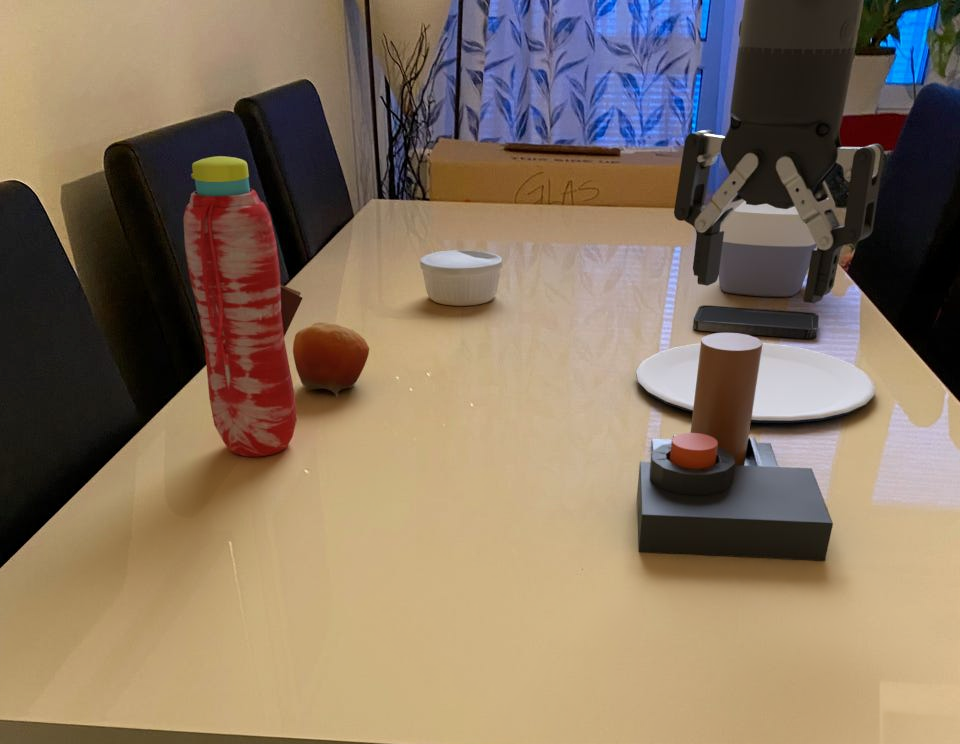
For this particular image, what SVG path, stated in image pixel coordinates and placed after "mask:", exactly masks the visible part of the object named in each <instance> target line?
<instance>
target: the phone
mask: <svg viewBox="0 0 960 744" xmlns="http://www.w3.org/2000/svg"><path fill="white" fill-rule="evenodd" d="M819 318H820V315H819V314H818V313H817V312H810V311H809V312H808V311H798V310H797V311H796V310H781V309H765V308H754V307H753V308H752V307H739V306H738V307H737V306H724V305H711V304H705V305H703V304H702V305H699V306H698V308H697V310H696V312H695V315H694V317H693V322H692V329H693V330H695V331H701V332H712V333H713V332H715V333H739V334H745V335H751V336H754V335H755V336H765V337H766V336H768V337H780V338H792V339H803V340H804V339H806V340H810V339H815V338H817V335H818V330H819V320H820V319H819Z"/></svg>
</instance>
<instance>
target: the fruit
mask: <svg viewBox="0 0 960 744" xmlns="http://www.w3.org/2000/svg"><path fill="white" fill-rule="evenodd" d="M292 354H293V360H294V365H295V369H296V372H297V375H298V378H299V379H300V380H299V381H300V382H301V384H302V386H303V387H304V390H305V393H307V392H309V391H312V390H317V389H321V390H322V389H324V390H327V391H330V392H332V393H334V394H335V398H336V399H339V392H340V391H341V390H343V389H344V390H345V389H347V388H353V386H354V385H355V384H356V383H357V381H358V380H359V378H360V376H361V375H362V371H363V370H364V368H365V366H366V363H367V361H368V357H369V354H370V347H369V345H368V343H367V341H366V339H365V338H364V337H363V336H362V335H361V334H359V333H358V332H357V331H355V330H354V329H352V328H348V327H345V326H342V325H339V324H335V323H328V322H315V323H313V324H311V325H310V326H307V327H305V328H302V329H300V330H298V331H297V332H296V333H295V335H294V340H293V346H292Z"/></svg>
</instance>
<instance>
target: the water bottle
mask: <svg viewBox="0 0 960 744" xmlns="http://www.w3.org/2000/svg"><path fill="white" fill-rule="evenodd" d="M191 169H192V173H191V174H190V176H191V179H193V180H194V183H195V189H196V190H195V191H193V192H192V193H191V194H190V199H189V202H188V204H187V205H186V206H185V210H184V214H183V235H184V249H185V254H186V261H187V268H188V274H189V281H190V284H191V289H192V292H193V296H194V299H195V304H196V308H197V312H198V315H199V321H200V327H201V333H202V339H203V344H204V352H205V364H206V377H207V387H208V396H209V397H208V398H209V404H210V409H211V414H212V420H213V425H214V427H215V429H216V431H217V433H218V435H219V436H220V438H221V440H222V442H223V443H224V445H225V446H226V448H227V449H228V450H229V451H230V452H231V453H232V454H236V455H238V456H243V457H251V458H254V457H255V458H259V457H260V458H261V457H265V456H272V455H275V454H277V453H279V452H281V451H283V450H285V449H287V448H288V446H289V444H290V443H291V440H292V439H293V436H294V434H295V433H294V432H295V428H296V424H297V420H298V417H297V407H296V395H295V389H294V384H293V378H292V374H291V373H292V372H291V368H290V361H289V357H288V352H287V347H286V341H285V336H286V335H287V332H288V330H289V328H290V326H291V324H292V322H293V319H294V318H295V315H296V313H297V311H298V309H299V307H300V305H301V303H302V301H303V297H302V296H300V295H301V291H298V290H296V289H293V288H290V287H288V286H285V285H283V284H281V270H280V261H279V254H278V245H277V239H276V235H275V231H274V226H273V222H272V217H271V213H270V211H269V210H268V208H267V206H266V204H265V202H264V201H262V200H261V199H260V197H259V194H258V193H257V191H256V190H254V189H253V188H250V187H251V186H250V180H249V177H250V174H249V173H250V172H249V166H248V163H247V161H246V160H244V159H242V158H238V157H232V156H223V155H217V156H211V157H210V156H209V157H206V158H201V159H199V160H196V161H194V162H192V165H191Z"/></svg>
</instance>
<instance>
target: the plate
mask: <svg viewBox="0 0 960 744" xmlns="http://www.w3.org/2000/svg"><path fill="white" fill-rule="evenodd" d="M700 346H701V342H698V343H697V342H696V343H692V344H686V345H680V346H674V347H671V348H668V349H665V350H661V351H659V352H656V353H654V354H652V355H650V356H649V357H647V358H646V359H644V360H643V361H641V362H640V364H639V366H638V367H637V369H636V371H635V375H636V380H637V384H638V385H639V386H640V387H641V388H642V389H643V390H644V391H645V392H646V393H647V394H648V395H649V396H651V397H653V398H656V399H657V400H659V401H661V402H662V403H664V404H666V405H668V406H671V407H674V408H677V409H681V410H682V411H683V410H684V411H686V412H690V413H692V414H693V407H694V398H695V390H696V381H697V372H698V363H699V355H700ZM875 387H876V386H875V383H874V382H873V380H872V379H871V377H869V375H868V373H866V372H865V371H863V369H862V370H861V368H859V367H857V366H855V365H854V364H852V363H850V362H847V361H845V360H842V359H840V358H837V357H835V356H832V355H830V354H827V353H823V352H819V351H816V350H811V349H808V348H803V347H797V346H790V345H784V344H779V343H770V342H769V343H768V342H762V351H761V358H760V364H759V371H758V378H757V385H756V391H755V398H754V405H753V411H752V418H751V423H756V424H757V423H759V424H760V423H761V424H796V423H806V422H807V423H808V422H818V421H824V420H829V419H833V418H837V417H842V416H846V415H848V414H850V413H853V412H855V411H857V410H859V409H861V408H864V407H866V406H867V405H868V403H869V402H870V401H871V400H872V399H873V398H874V397H875V395H876V394H875V390H876V389H875Z"/></svg>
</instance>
